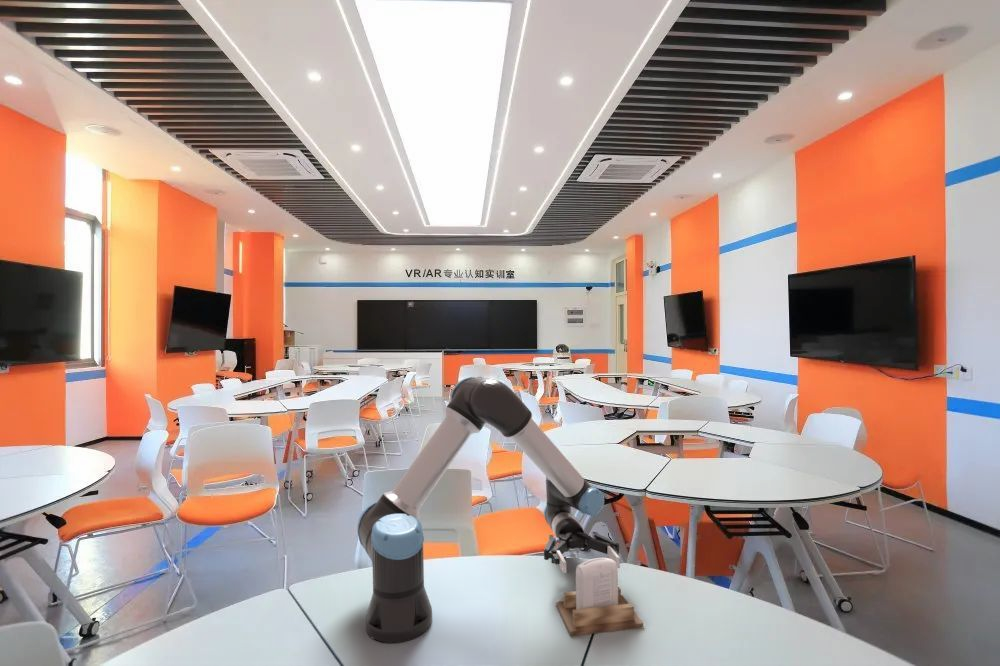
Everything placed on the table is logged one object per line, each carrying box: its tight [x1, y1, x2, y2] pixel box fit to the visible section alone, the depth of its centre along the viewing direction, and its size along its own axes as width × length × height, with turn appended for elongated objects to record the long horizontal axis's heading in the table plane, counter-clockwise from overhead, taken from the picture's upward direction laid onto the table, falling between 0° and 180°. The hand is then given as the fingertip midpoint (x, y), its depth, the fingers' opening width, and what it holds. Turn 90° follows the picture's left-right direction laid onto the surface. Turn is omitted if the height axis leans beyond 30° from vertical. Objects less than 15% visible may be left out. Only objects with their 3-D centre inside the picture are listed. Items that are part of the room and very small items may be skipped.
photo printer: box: [575, 557, 619, 610], centre depth 114 cm, size 10×4×12 cm, turn 110°
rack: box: [555, 586, 644, 637], centre depth 114 cm, size 17×12×4 cm
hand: (591, 565), depth 119 cm, fingers open, 13 cm apart
